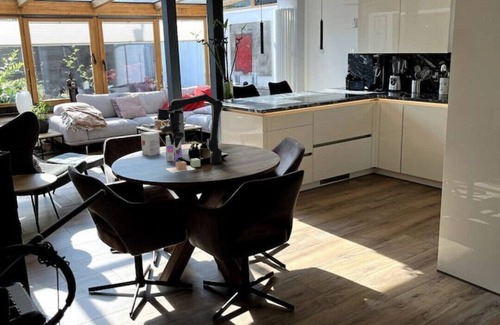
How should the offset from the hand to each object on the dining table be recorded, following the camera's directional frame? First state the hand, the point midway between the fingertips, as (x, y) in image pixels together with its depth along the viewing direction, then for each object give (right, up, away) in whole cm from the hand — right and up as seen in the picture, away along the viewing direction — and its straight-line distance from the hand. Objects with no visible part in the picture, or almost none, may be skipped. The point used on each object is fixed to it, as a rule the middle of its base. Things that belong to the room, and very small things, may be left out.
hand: (174, 146), depth 285 cm
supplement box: (-22, -4, +39) cm, 45 cm away
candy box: (-3, -8, +21) cm, 23 cm away
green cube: (+13, -12, +2) cm, 18 cm away
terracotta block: (+5, -14, -5) cm, 15 cm away
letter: (+5, -14, -5) cm, 15 cm away
